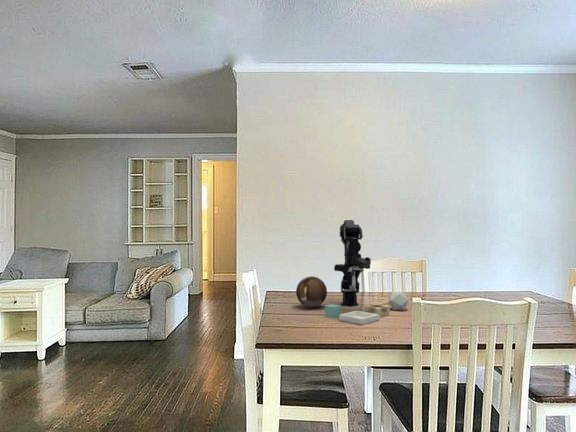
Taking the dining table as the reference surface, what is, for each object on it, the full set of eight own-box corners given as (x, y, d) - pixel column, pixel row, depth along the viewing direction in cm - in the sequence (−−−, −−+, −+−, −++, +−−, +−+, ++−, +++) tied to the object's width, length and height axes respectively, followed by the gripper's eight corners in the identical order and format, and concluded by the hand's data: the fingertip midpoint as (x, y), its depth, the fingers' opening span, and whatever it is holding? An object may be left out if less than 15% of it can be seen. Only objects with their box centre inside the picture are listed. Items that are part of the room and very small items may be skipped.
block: (325, 316, 210) (325, 305, 209) (332, 314, 213) (332, 303, 213) (333, 318, 206) (333, 307, 206) (341, 316, 209) (341, 305, 209)
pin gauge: (348, 290, 218) (348, 271, 218) (352, 290, 220) (352, 270, 220) (352, 291, 216) (352, 271, 216) (356, 290, 218) (356, 271, 218)
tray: (339, 320, 202) (339, 314, 202) (356, 316, 210) (356, 310, 210) (361, 325, 193) (361, 319, 193) (379, 320, 201) (379, 314, 201)
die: (404, 313, 217) (413, 295, 220) (386, 303, 218) (396, 285, 221) (399, 316, 225) (409, 298, 228) (383, 306, 226) (392, 289, 229)
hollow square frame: (364, 315, 212) (364, 306, 212) (374, 312, 217) (374, 303, 217) (378, 317, 206) (378, 308, 206) (389, 315, 211) (389, 306, 211)
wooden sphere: (314, 302, 241) (314, 273, 240) (333, 307, 228) (333, 277, 228) (290, 306, 232) (290, 276, 232) (308, 311, 220) (307, 279, 220)
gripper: (351, 253, 206) (351, 289, 206) (379, 251, 217) (379, 285, 218) (333, 252, 214) (333, 286, 214) (360, 250, 226) (361, 282, 226)
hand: (352, 285), depth 218 cm, fingers closed on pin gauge, 3 cm apart
